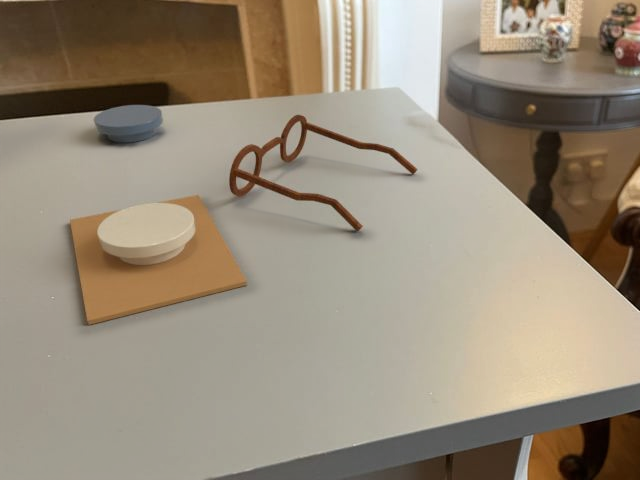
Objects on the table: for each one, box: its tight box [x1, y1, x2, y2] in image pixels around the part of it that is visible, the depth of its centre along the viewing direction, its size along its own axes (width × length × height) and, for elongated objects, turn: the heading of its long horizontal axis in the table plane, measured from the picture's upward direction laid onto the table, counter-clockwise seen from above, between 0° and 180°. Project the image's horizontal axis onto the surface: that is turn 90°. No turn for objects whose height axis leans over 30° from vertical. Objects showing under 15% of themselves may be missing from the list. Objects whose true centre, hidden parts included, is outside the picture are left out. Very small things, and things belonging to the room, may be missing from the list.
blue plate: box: [93, 104, 164, 144], centre depth 73 cm, size 7×7×2 cm
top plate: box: [97, 202, 196, 265], centre depth 51 cm, size 7×7×2 cm
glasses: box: [228, 114, 418, 232], centre depth 60 cm, size 13×13×5 cm
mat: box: [69, 194, 248, 326], centre depth 52 cm, size 16×11×1 cm
